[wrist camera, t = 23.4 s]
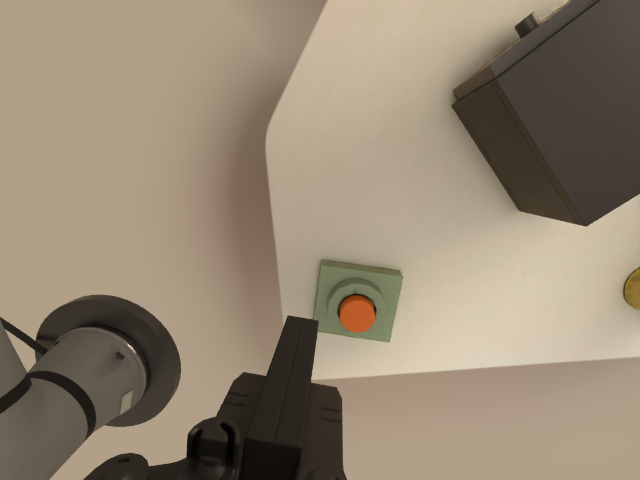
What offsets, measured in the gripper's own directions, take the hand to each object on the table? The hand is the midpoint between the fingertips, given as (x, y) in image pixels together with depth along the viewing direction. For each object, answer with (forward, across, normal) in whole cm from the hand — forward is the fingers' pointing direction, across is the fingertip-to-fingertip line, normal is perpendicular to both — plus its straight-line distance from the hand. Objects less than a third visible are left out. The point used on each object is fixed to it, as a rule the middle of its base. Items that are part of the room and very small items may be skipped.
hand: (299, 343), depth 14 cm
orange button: (+20, +5, -8) cm, 22 cm away
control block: (+24, +5, -8) cm, 26 cm away
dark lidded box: (+24, +22, +17) cm, 36 cm away
